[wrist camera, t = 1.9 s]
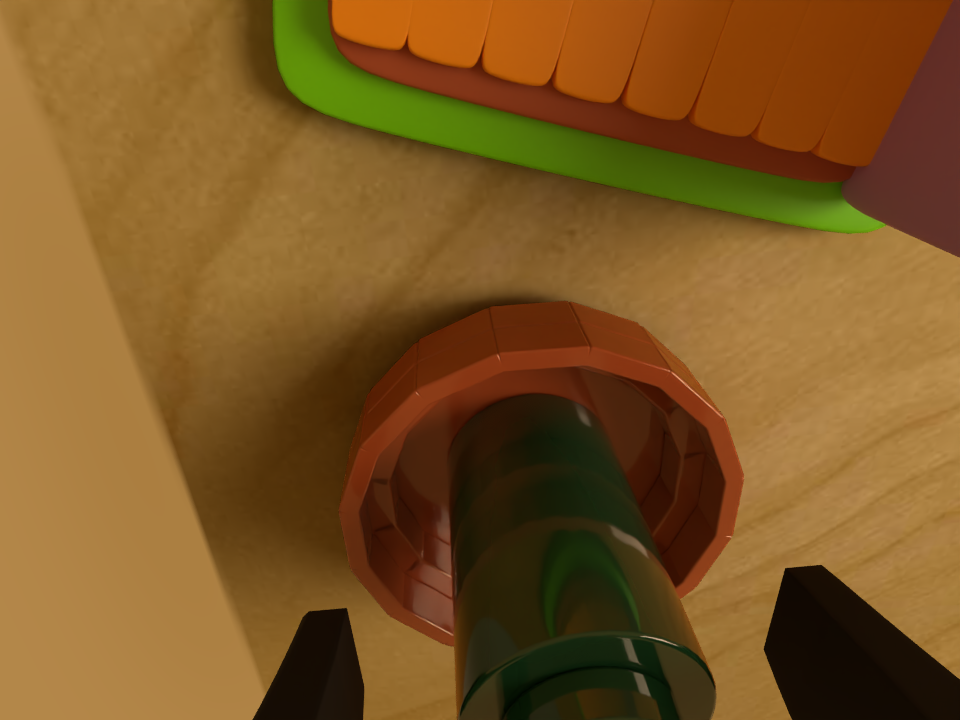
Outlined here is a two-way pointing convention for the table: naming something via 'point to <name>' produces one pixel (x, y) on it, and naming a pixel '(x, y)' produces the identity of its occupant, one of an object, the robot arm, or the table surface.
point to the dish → (519, 371)
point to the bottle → (561, 577)
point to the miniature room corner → (664, 96)
